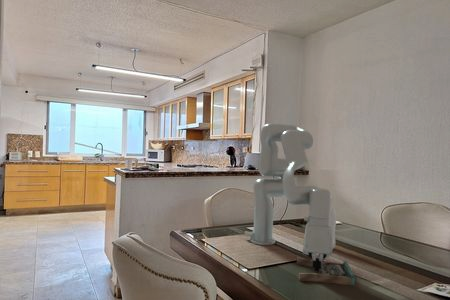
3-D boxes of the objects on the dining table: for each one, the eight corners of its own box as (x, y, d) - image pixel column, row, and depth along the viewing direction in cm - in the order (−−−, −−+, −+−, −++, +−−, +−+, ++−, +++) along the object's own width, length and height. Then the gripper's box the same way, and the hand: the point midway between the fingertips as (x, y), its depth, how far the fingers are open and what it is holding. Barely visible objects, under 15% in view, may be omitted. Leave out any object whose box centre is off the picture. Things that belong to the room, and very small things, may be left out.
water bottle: (336, 251, 141) (338, 197, 141) (320, 249, 143) (322, 196, 143) (333, 246, 148) (336, 195, 149) (318, 245, 150) (320, 194, 150)
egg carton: (318, 270, 118) (319, 259, 118) (338, 272, 117) (339, 261, 117) (323, 281, 108) (323, 269, 108) (345, 283, 107) (345, 272, 107)
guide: (298, 280, 107) (299, 270, 107) (296, 263, 124) (297, 254, 124) (355, 287, 103) (355, 277, 103) (345, 268, 120) (345, 259, 120)
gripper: (298, 222, 112) (296, 271, 112) (341, 225, 109) (339, 276, 109) (297, 217, 119) (295, 264, 119) (337, 221, 116) (335, 269, 116)
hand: (316, 270), depth 114 cm, fingers closed
